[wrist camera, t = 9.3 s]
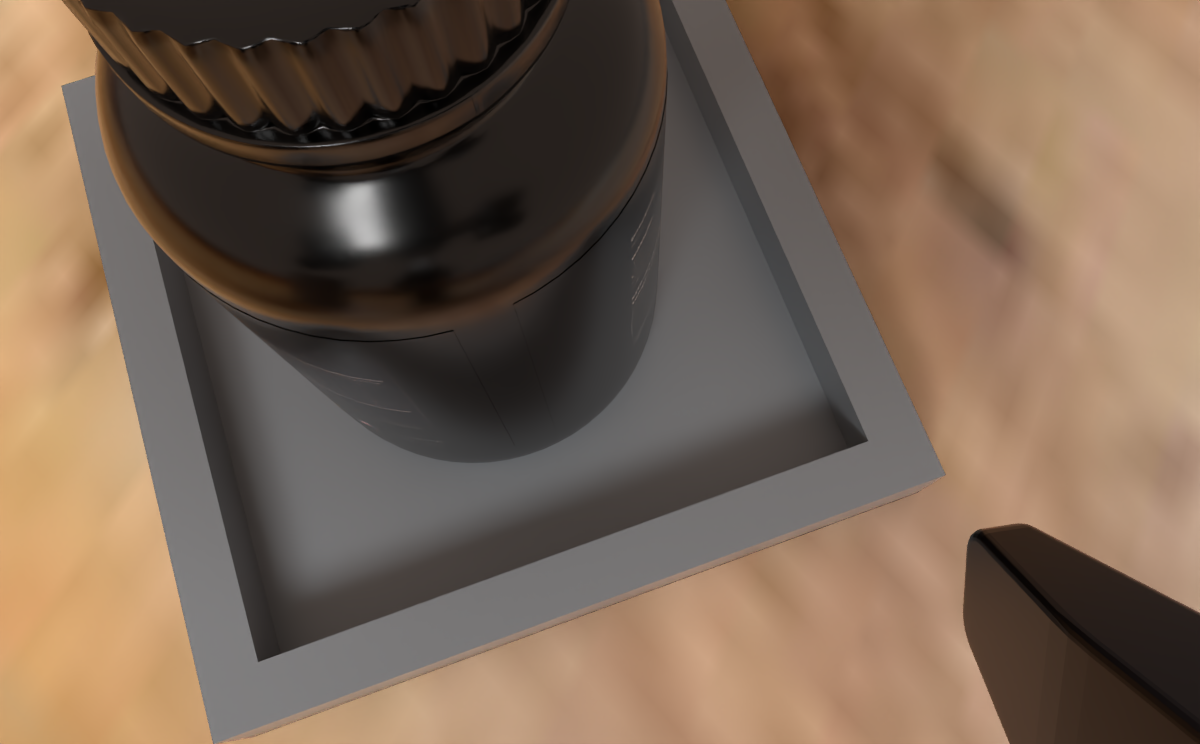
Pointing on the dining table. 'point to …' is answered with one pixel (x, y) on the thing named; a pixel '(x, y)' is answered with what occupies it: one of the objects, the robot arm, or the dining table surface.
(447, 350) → the supplement bottle
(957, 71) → the dining table surface
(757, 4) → the dining table surface
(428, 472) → the tray
